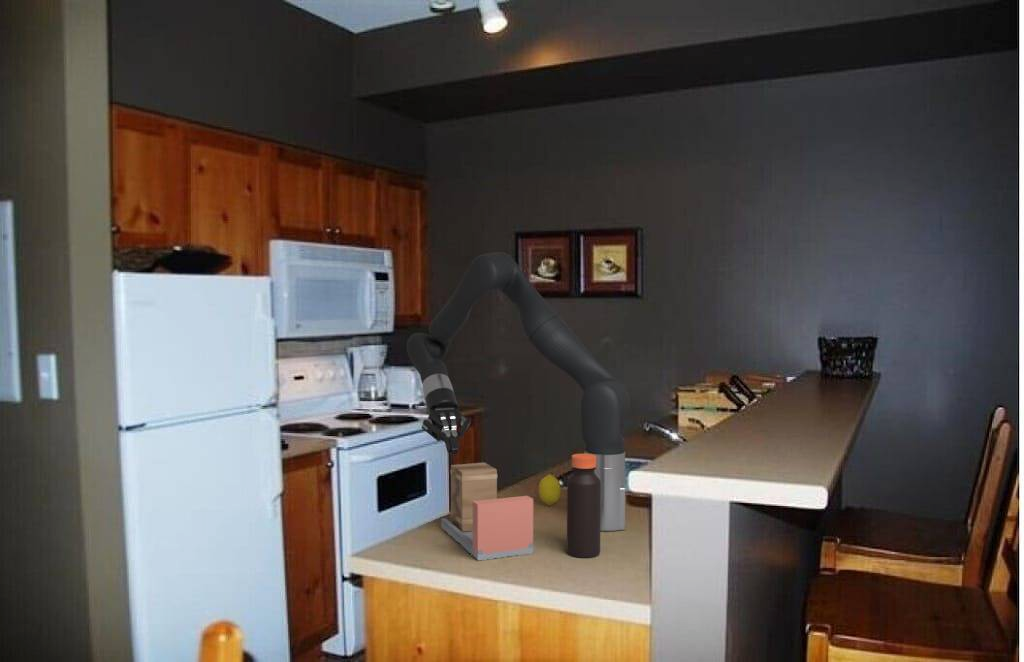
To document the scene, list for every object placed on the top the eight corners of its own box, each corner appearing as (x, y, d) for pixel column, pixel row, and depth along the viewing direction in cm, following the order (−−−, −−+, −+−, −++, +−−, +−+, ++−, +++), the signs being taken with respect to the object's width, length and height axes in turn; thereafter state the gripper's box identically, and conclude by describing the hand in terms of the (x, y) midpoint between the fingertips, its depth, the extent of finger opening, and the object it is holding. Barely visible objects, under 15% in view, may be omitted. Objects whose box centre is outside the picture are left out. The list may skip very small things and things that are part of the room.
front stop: (472, 550, 156) (472, 501, 155) (527, 543, 160) (527, 495, 160) (477, 554, 153) (477, 504, 152) (533, 547, 157) (533, 499, 157)
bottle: (565, 557, 155) (566, 458, 154) (568, 547, 162) (568, 452, 161) (599, 559, 154) (600, 459, 153) (600, 548, 161) (601, 453, 160)
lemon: (558, 509, 191) (558, 477, 191) (536, 508, 193) (536, 476, 192) (561, 503, 197) (561, 472, 197) (540, 502, 198) (540, 471, 198)
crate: (450, 522, 175) (450, 465, 175) (484, 518, 178) (484, 462, 178) (462, 531, 168) (462, 472, 167) (497, 527, 171) (497, 469, 170)
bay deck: (441, 528, 175) (441, 518, 175) (490, 522, 180) (490, 513, 180) (477, 561, 153) (477, 550, 153) (533, 553, 157) (533, 542, 157)
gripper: (416, 387, 191) (430, 445, 180) (467, 385, 196) (484, 441, 185) (411, 406, 196) (424, 463, 185) (460, 404, 201) (476, 459, 190)
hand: (454, 452), depth 185 cm, fingers closed
